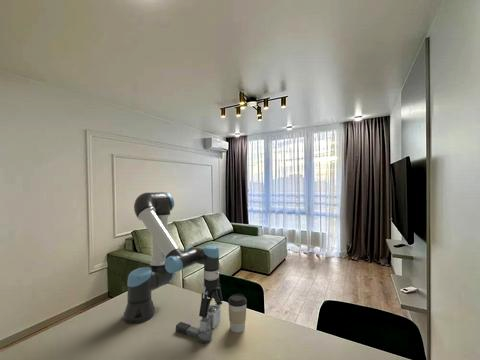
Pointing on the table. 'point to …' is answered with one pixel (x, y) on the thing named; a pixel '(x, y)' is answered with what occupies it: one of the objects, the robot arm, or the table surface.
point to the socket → (214, 316)
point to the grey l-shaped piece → (197, 330)
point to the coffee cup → (237, 312)
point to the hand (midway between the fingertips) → (211, 323)
